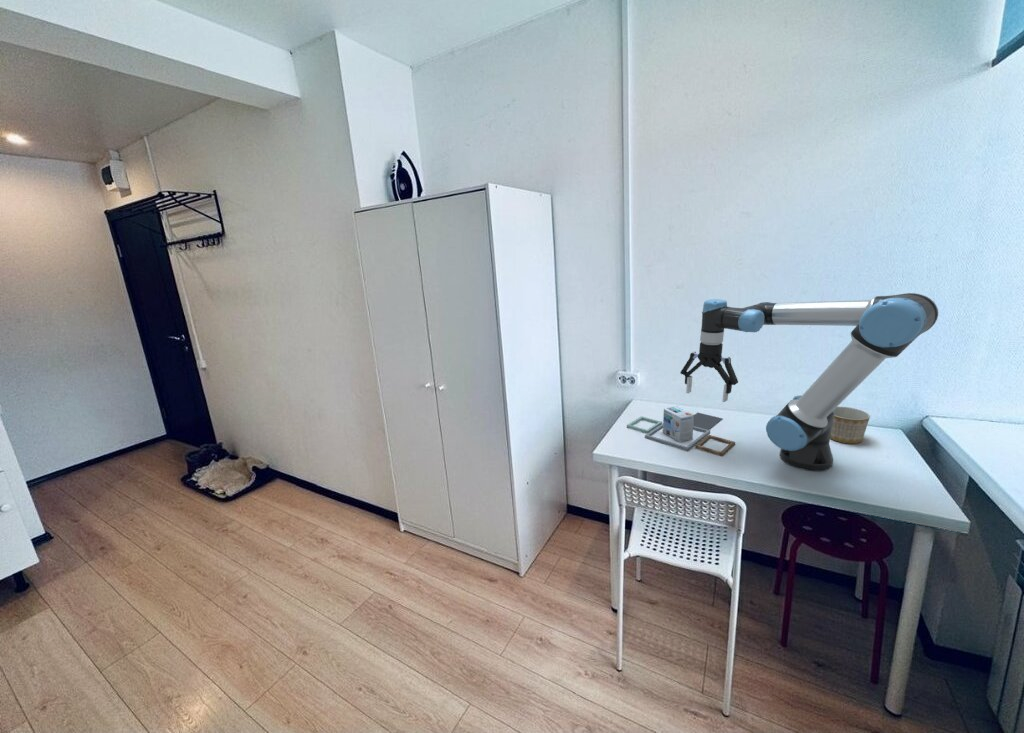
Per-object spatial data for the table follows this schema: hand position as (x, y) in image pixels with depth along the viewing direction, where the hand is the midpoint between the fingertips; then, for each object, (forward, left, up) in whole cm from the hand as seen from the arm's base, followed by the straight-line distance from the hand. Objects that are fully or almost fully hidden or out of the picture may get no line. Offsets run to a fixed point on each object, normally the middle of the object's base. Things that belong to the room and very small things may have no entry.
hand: (706, 396), depth 155 cm
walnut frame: (-5, 0, -19) cm, 20 cm away
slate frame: (+10, 0, -19) cm, 22 cm away
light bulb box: (+10, 0, -20) cm, 22 cm away
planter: (-38, -36, -20) cm, 56 cm away
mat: (+8, -19, -19) cm, 28 cm away
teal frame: (+25, 0, -19) cm, 32 cm away
